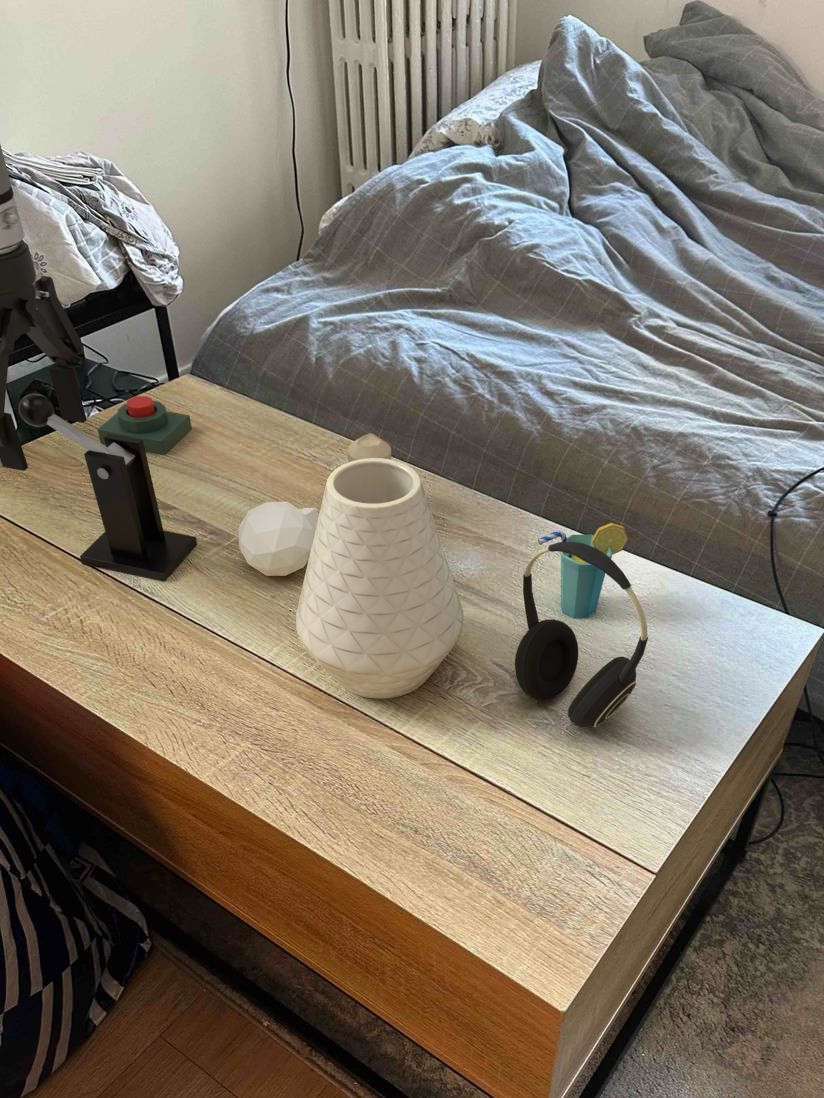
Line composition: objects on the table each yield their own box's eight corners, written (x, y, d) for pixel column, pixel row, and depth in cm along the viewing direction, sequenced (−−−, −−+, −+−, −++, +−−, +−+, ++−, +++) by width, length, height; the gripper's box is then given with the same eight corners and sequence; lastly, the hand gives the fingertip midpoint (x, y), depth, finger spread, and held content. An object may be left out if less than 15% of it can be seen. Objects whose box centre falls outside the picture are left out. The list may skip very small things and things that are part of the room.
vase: (430, 738, 98) (429, 552, 82) (273, 698, 101) (244, 511, 85) (482, 633, 110) (490, 454, 95) (341, 600, 113) (327, 422, 98)
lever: (9, 420, 107) (14, 396, 105) (28, 405, 110) (34, 381, 108) (116, 486, 110) (123, 464, 107) (132, 470, 112) (140, 449, 110)
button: (123, 416, 136) (121, 405, 135) (137, 405, 139) (134, 394, 137) (147, 420, 135) (144, 409, 134) (160, 409, 138) (157, 398, 137)
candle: (356, 493, 131) (351, 426, 124) (396, 497, 130) (394, 430, 124) (347, 516, 127) (342, 448, 120) (388, 520, 126) (386, 452, 120)
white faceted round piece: (295, 590, 111) (349, 548, 121) (271, 516, 107) (329, 478, 116) (237, 590, 115) (293, 549, 124) (211, 518, 111) (272, 481, 120)
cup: (544, 637, 110) (553, 551, 102) (519, 606, 114) (525, 521, 106) (626, 611, 114) (641, 527, 106) (599, 582, 118) (611, 498, 110)
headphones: (602, 762, 96) (630, 606, 83) (491, 692, 103) (499, 536, 90) (650, 718, 101) (684, 563, 88) (541, 653, 108) (556, 500, 95)
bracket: (81, 564, 116) (48, 455, 106) (117, 528, 122) (89, 422, 112) (165, 581, 115) (139, 472, 105) (197, 544, 120) (176, 438, 110)
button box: (100, 443, 137) (94, 417, 135) (130, 417, 143) (124, 392, 140) (164, 455, 136) (159, 429, 133) (192, 428, 141) (187, 403, 139)
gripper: (-60, 291, 87) (12, 500, 102) (86, 213, 104) (129, 402, 118) (-132, 279, 88) (-50, 488, 103) (24, 204, 105) (75, 393, 120)
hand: (46, 442), depth 111 cm, fingers open, 11 cm apart
